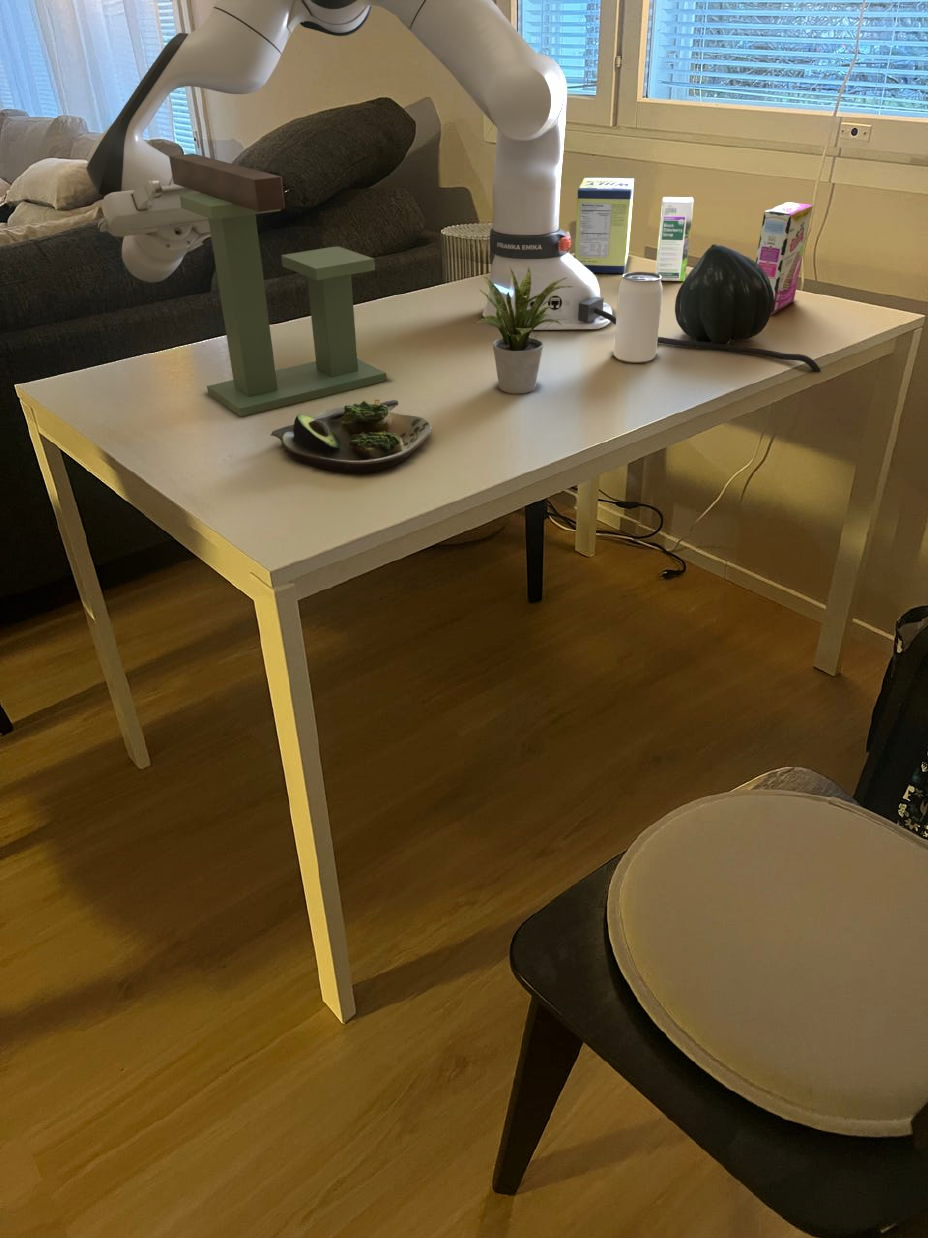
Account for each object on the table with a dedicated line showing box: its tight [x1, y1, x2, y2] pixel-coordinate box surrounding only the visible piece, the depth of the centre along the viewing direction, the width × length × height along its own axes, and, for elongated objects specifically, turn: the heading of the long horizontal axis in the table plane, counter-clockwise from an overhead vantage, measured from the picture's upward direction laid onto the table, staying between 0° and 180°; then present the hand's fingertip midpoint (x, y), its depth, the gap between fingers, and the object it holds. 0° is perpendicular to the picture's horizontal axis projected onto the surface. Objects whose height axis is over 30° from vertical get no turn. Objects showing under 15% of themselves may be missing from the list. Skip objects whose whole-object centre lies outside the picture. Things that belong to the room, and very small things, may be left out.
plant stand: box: [179, 193, 388, 418], centre depth 125 cm, size 11×23×26 cm, turn 126°
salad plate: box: [270, 399, 433, 474], centre depth 115 cm, size 19×18×5 cm
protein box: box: [574, 176, 635, 274], centre depth 187 cm, size 10×16×16 cm
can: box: [613, 271, 664, 364], centre depth 139 cm, size 6×6×12 cm
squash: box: [674, 243, 774, 344], centre depth 146 cm, size 14×15×15 cm
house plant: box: [474, 268, 571, 394], centre depth 126 cm, size 14×14×16 cm
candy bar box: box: [755, 201, 814, 316], centre depth 160 cm, size 11×5×16 cm, turn 144°
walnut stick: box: [168, 153, 286, 212], centre depth 115 cm, size 26×3×3 cm, turn 36°
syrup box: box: [654, 196, 694, 282], centre depth 178 cm, size 6×6×14 cm
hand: (189, 181), depth 123 cm, fingers open, 8 cm apart
